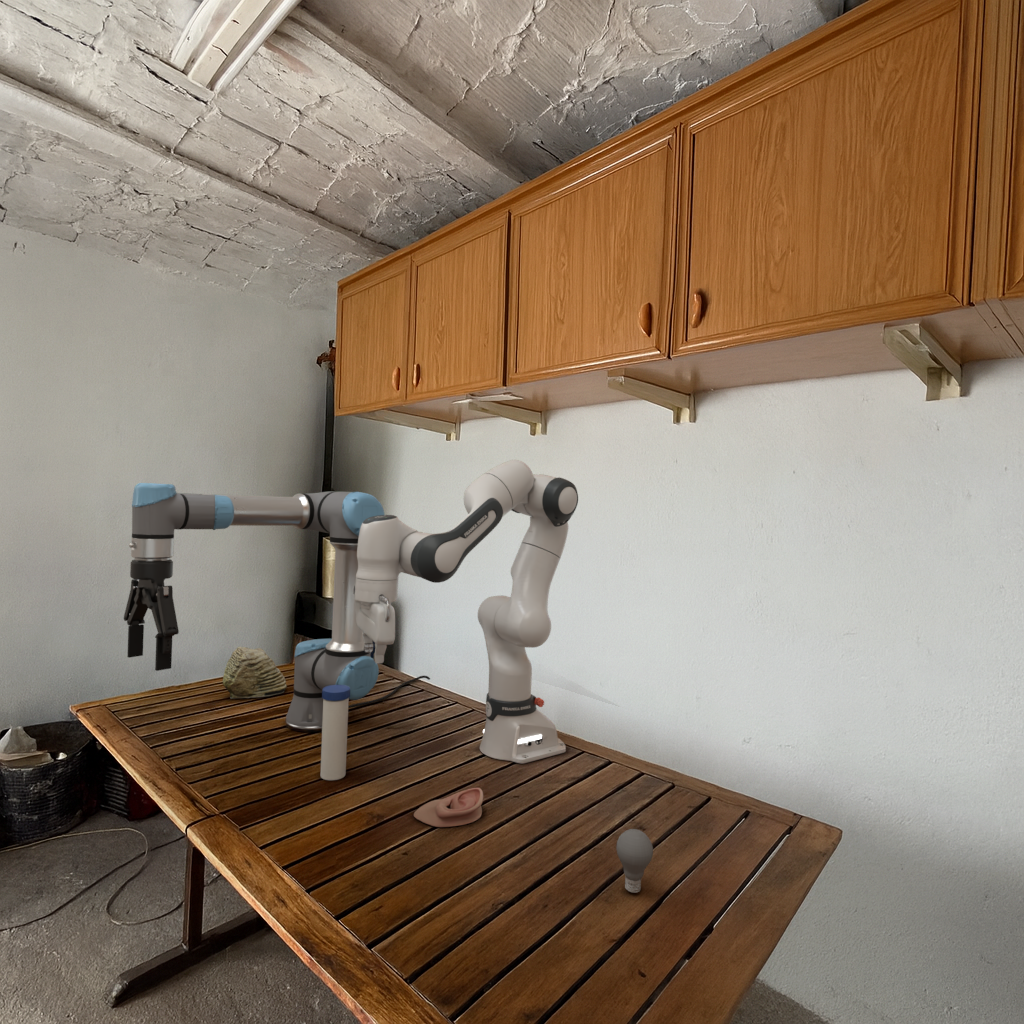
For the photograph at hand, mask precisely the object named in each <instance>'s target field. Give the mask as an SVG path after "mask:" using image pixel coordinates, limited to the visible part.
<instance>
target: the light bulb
mask: <svg viewBox="0 0 1024 1024" xmlns="http://www.w3.org/2000/svg"><path fill="white" fill-rule="evenodd" d="M615 849H616V854H617V857H618V859H619V861H620V863H621V865H622V867H623V873H624V874H623V875H624V876H625V878H624V888H625V890H627V891H628V892H630V893H634V894H635V893H639V892H640V891H641V889H642V887H641V886H642V879H643V877H644V875H645V871H646V868H647V867H648V866H649V864H650V863H651V861H652V859H653V855H654V847H653V843H652V841H651V838H649V836H648V835H647V834H646V833H645V832H643V831H642V830H641V829H636V828H629V829H627V830H625V831H623V832H622V833H621V834H620V835H619V837H618V839H617V841H616V847H615Z"/></svg>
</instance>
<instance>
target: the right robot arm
mask: <svg viewBox="0 0 1024 1024" xmlns="http://www.w3.org/2000/svg"><path fill="white" fill-rule="evenodd" d="M578 503H579V494H578V489H577V487H576V485H575V484H574V483H573V482H572V481H571V480H568V479H566V478H563V477H556V476H553V475H548V474H534V473H533V471H532V470H531V467H529V465H527V464H526V463H525V462H524V461H522V460H519V459H510V460H507V461H505V462H501V463H500V464H497V465H496V466H494V467H492V468H490V469H488V470H486V472H484V473H482V474H480V476H478V477H476V478H475V479H474V480H473V481H472V482H471V483H470V484H469V485H468V486H467V487H466V489H465V490H464V492H463V505H464V508H465V510H466V512H467V515H465V516H464V517H463V518H462V519H461V520H460V521H458V522H457V523H456V524H455V525H454V526H453V527H452V528H451V529H450V530H447V531H444V532H437V533H430V532H423V531H418V530H417V529H414V528H412V527H411V526H409V525H407V524H406V523H405V522H403V521H402V520H401V519H399V517H398V516H396V515H394V514H385V515H379V516H373V517H369V518H367V519H365V520H364V521H363V523H362V525H361V528H360V532H359V538H358V547H357V560H358V571H357V574H356V584H355V585H354V587H353V594H354V595H355V608H356V623H357V626H358V627H359V628H360V629H361V630H362V636H363V643H364V646H363V650H364V651H365V652H371V653H372V652H373V651H374V653H373V659H374V662H375V663H377V664H383V663H384V661H385V654H386V650H387V647H388V646H389V645H394V642H395V640H396V611H395V610H396V609H395V608H394V606H393V605H392V603H393V602H397V601H398V592H399V578H400V577H399V575H400V574H401V573H403V574H406V575H410V576H412V577H416V578H417V577H418V578H421V579H423V580H425V581H428V582H431V583H435V584H437V583H443V582H444V583H445V582H446V581H448V580H450V579H451V578H452V577H453V576H454V575H455V574H456V573H457V571H458V570H459V569H460V566H461V565H462V563H463V561H465V558H466V557H467V556H468V555H469V554H470V553H471V551H473V550H474V548H476V547H477V546H478V545H479V544H480V543H481V542H482V541H483V540H484V539H485V538H486V537H488V535H490V533H492V532H493V530H494V529H495V528H496V527H497V526H498V525H499V524H500V522H501V520H502V519H503V517H504V516H506V515H507V514H508V513H510V511H512V512H513V513H516V514H521V515H525V516H528V517H529V526H528V528H527V530H526V532H525V534H524V536H523V538H522V540H521V542H520V545H519V548H518V550H517V553H516V554H515V557H514V560H513V562H512V565H511V567H510V576H511V578H512V584H511V585H512V587H511V593H510V596H507V595H492V596H488V597H487V598H484V600H483V601H482V602H481V603H480V605H479V607H478V609H477V620H478V623H479V625H480V627H481V629H482V632H483V637H484V641H485V647H486V652H487V659H488V691H487V693H486V697H485V717H486V718H485V725H484V729H483V730H482V733H483V734H482V738H481V741H480V744H479V747H478V748H479V751H480V752H481V754H483V755H485V756H487V757H489V758H492V759H495V760H499V761H508V762H509V761H510V762H513V763H515V764H516V763H517V764H522V765H523V764H527V763H531V762H534V761H538V760H542V759H545V758H549V757H553V756H556V755H557V756H558V755H561V754H564V753H566V752H567V746H566V744H565V742H564V741H563V740H562V739H560V738H559V737H558V731H557V727H556V725H555V723H554V722H553V721H552V720H551V719H550V718H549V717H547V715H545V714H544V713H542V711H541V710H539V709H538V708H542V707H544V705H545V700H544V699H542V698H541V697H537V696H535V695H533V694H532V680H533V679H532V678H533V666H532V662H531V660H530V658H529V656H528V653H527V651H526V648H531V649H532V648H538V647H540V646H542V645H544V644H545V643H546V642H547V641H548V639H549V638H550V635H551V632H552V622H551V621H552V620H551V618H550V615H549V610H548V608H549V607H548V604H549V595H550V588H551V585H552V583H553V579H554V576H555V574H556V571H557V569H558V566H559V564H560V560H561V558H562V555H563V552H564V549H565V547H566V542H567V538H568V534H569V521H570V519H571V518H572V516H573V515H574V514H575V511H576V510H577V507H578V505H579V504H578ZM374 648H375V649H374ZM537 707H538V708H537Z"/></svg>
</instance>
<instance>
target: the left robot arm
mask: <svg viewBox="0 0 1024 1024" xmlns="http://www.w3.org/2000/svg"><path fill="white" fill-rule="evenodd" d="M379 515H386V513H385V511H384V508H383V505H382V503H381V502H380V501H379V500H378V498H377V497H375V495H373V494H370V493H367V492H363V491H362V492H361V491H337V490H336V491H335V490H333V491H332V490H330V491H321V492H311V493H295V494H294V495H293V496H276V495H275V496H274V495H273V496H272V495H248V494H247V495H246V494H244V495H243V494H220V493H219V494H218V493H217V494H216V493H215V494H214V493H189V492H187V493H186V492H177V491H176V486H175V485H174V484H173V483H152V482H139V483H137V484H136V485H135V486H134V488H133V492H132V501H131V520H132V521H131V542H130V543H128V547H129V548H130V549H131V550H130V556H131V558H133V559H132V560H131V561H130V567H129V568H130V571H129V574H130V575H129V576H130V578H131V581H130V590H129V594H128V598H127V603H126V607H125V610H124V615H123V621H124V622H126V624H127V626H128V629H127V630H128V631H127V658H135V657H142V656H144V635H145V634H144V630H145V625H144V624H145V623H146V621H145V619H144V618H145V616H146V615H147V612H148V609H149V610H151V613H152V618H153V620H154V624H155V627H156V631H157V633H156V635H155V636H154V638H155V661H154V663H155V665H154V668H155V669H154V670H155V671H157V672H159V671H164V670H169V669H172V659H173V657H172V655H173V637H175V636H176V635H179V632H180V631H179V625H178V619H177V615H176V614H177V613H176V609H175V603H174V597H173V595H174V593H173V585H165V580H167V579H171V578H172V577H173V575H174V573H173V572H174V561H173V560H172V559H171V558H173V557H174V554H175V553H174V552H175V530H213V531H215V530H224V529H228V528H230V526H233V527H234V526H237V527H238V526H240V527H243V526H246V527H247V526H249V527H250V526H258V527H259V526H268V527H269V526H276V527H277V526H282V527H284V526H285V527H286V526H287V527H288V526H289V527H290V526H291V527H293V528H294V529H296V530H308V531H309V530H310V531H316V532H319V533H325V534H329V544H330V545H331V546H332V547H333V548H334V550H335V551H334V572H333V573H334V577H333V599H332V625H331V626H332V627H331V638H317V639H308V640H304V641H300V642H299V643H297V645H296V646H295V650H294V655H293V657H294V672H293V673H294V674H293V695H292V696H293V697H292V699H291V702H290V704H289V708H288V711H287V713H286V715H285V726H286V728H287V729H289V730H291V731H294V732H295V731H296V732H301V733H316V732H322V720H323V698H322V691H323V688H324V687H326V686H330V685H346V686H349V687H350V697H349V700H350V701H357V700H360V699H362V698H364V697H365V696H367V695H368V694H370V692H371V690H372V689H374V687H375V685H376V683H377V682H378V678H379V674H380V672H379V671H380V670H379V669H380V668H379V665H378V663H375V662H374V657H371V653H372V652H365V651H364V650H363V646H364V643H363V636H362V630H361V629H360V628H359V627H358V626H357V623H356V608H355V595H354V594H353V587H354V585H355V584H356V574H357V571H358V560H357V547H358V538H359V532H360V528H361V525H362V523H363V521H364V520H365V519H367V518H369V517H373V516H379ZM421 679H427V680H429V681H430V680H431V678H430V676H428V675H420V676H417V677H415V678H412V679H409V680H406V681H404V682H402V683H400V684H399V685H398V686H396V687H395V688H394V690H392V691H391V692H389V693H388V694H386V695H383V696H382V697H379V698H376V699H372V700H368V701H363V702H358V703H357V702H356V703H352V704H348V709H351V708H356V707H359V706H365V705H371V704H374V703H378V702H381V701H383V700H385V699H387V698H389V697H391V696H392V695H394V694H395V693H396V692H397V691H398V690H399V689H401V688H402V687H404V686H405V685H407V684H410V683H413V682H416V681H418V680H421Z"/></svg>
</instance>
